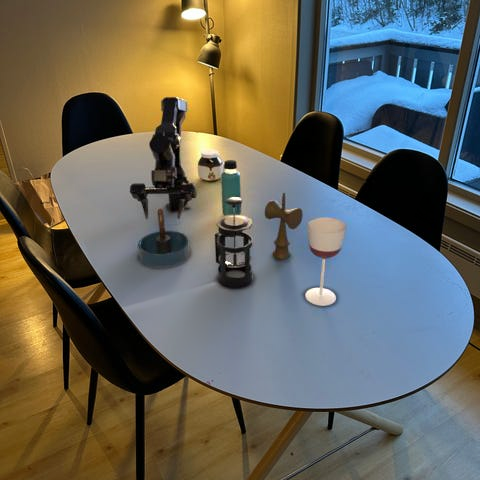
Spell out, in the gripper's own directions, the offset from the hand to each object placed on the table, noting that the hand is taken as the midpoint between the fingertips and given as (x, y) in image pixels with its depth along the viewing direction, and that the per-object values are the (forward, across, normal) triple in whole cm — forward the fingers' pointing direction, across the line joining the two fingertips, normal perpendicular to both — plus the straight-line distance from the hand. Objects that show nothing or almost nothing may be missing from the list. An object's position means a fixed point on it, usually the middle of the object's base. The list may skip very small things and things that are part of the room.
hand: (162, 218), depth 128 cm
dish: (+9, 0, +6) cm, 11 cm away
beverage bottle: (-8, +19, +23) cm, 31 cm away
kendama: (+11, +34, +4) cm, 36 cm away
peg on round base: (+9, 0, +5) cm, 10 cm away
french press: (+18, +20, -3) cm, 27 cm away
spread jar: (-35, +12, +49) cm, 61 cm away
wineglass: (+24, +42, -9) cm, 49 cm away
